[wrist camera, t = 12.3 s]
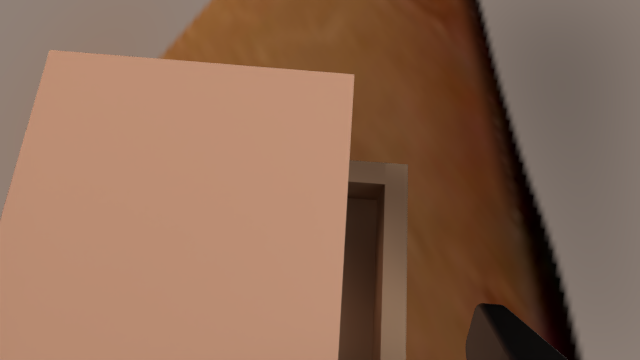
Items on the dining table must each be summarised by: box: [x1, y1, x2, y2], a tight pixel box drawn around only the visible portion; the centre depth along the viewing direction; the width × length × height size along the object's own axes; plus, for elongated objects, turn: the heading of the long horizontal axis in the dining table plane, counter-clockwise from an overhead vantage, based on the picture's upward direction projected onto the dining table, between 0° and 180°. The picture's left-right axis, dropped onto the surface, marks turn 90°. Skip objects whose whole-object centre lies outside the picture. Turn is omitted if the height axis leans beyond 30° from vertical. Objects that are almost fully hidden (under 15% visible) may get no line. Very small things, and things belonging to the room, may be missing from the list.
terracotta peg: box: [0, 50, 354, 360], centre depth 12 cm, size 4×4×12 cm
